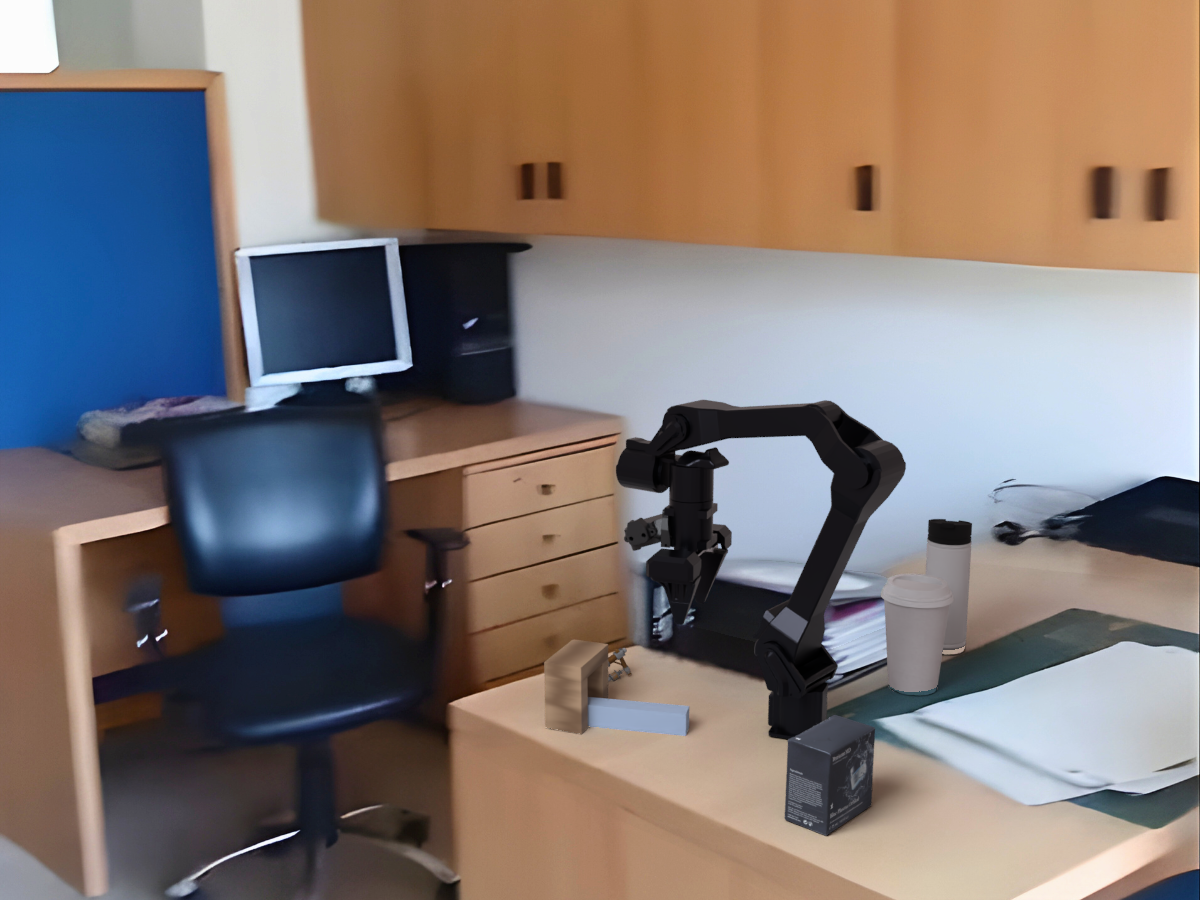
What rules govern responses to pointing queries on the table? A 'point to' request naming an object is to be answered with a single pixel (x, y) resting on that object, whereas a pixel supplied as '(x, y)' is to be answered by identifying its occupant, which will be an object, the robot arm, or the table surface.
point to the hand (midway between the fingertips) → (690, 613)
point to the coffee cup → (915, 629)
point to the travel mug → (951, 572)
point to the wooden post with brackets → (618, 656)
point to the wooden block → (574, 684)
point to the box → (829, 774)
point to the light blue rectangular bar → (638, 716)
